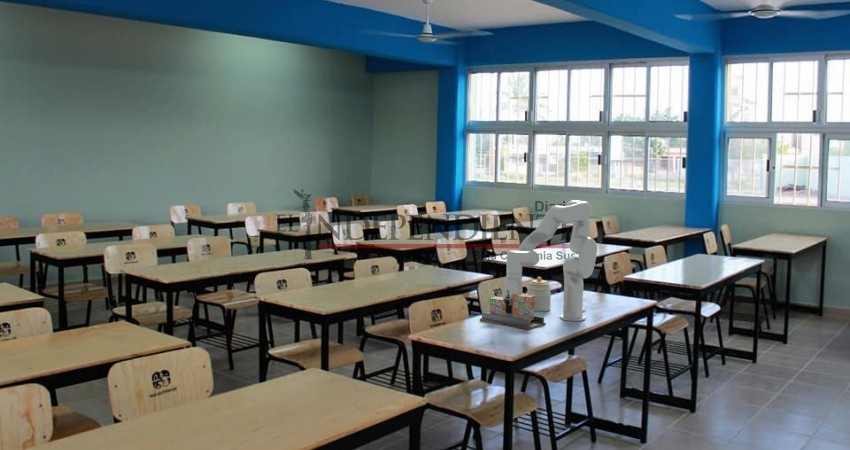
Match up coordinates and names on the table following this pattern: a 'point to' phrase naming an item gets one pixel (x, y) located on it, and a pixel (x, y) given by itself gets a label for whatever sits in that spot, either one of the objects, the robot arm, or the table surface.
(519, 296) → the stack of blocks
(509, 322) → the track
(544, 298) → the jar
